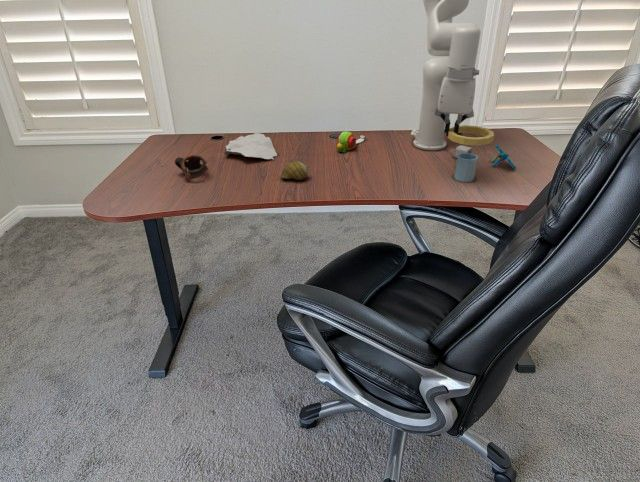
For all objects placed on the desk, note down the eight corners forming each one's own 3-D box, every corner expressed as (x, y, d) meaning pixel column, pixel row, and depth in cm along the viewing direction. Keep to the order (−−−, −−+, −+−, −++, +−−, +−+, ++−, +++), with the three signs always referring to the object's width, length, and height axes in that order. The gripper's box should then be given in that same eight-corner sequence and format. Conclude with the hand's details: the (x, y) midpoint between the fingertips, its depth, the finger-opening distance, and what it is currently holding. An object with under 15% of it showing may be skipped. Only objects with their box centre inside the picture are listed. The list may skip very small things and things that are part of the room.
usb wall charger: (465, 161, 152) (467, 150, 150) (447, 156, 156) (449, 146, 154) (470, 158, 154) (472, 147, 152) (453, 153, 158) (454, 143, 156)
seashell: (284, 191, 142) (283, 181, 135) (277, 173, 144) (276, 162, 136) (311, 182, 144) (312, 171, 136) (304, 164, 146) (304, 153, 138)
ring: (447, 143, 129) (447, 136, 127) (449, 130, 139) (449, 124, 138) (493, 147, 125) (494, 140, 124) (491, 133, 136) (493, 127, 135)
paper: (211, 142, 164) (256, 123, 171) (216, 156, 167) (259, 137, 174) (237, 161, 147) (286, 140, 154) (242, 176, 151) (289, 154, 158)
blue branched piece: (520, 169, 141) (501, 146, 139) (504, 180, 143) (485, 158, 142) (513, 161, 151) (495, 139, 149) (498, 171, 153) (481, 151, 151)
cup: (450, 178, 140) (454, 156, 136) (460, 172, 143) (464, 151, 139) (467, 183, 136) (471, 161, 132) (477, 178, 139) (481, 156, 135)
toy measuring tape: (330, 152, 161) (330, 135, 158) (357, 137, 175) (357, 121, 171) (345, 155, 158) (345, 138, 155) (370, 140, 171) (371, 124, 168)
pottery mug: (214, 171, 148) (211, 156, 141) (203, 192, 144) (199, 178, 136) (182, 160, 149) (177, 145, 141) (169, 181, 144) (164, 166, 137)
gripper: (488, 72, 125) (476, 133, 135) (433, 70, 129) (426, 129, 139) (488, 77, 119) (476, 141, 128) (431, 74, 123) (424, 137, 132)
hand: (450, 135), depth 133 cm, fingers closed on ring, 1 cm apart
